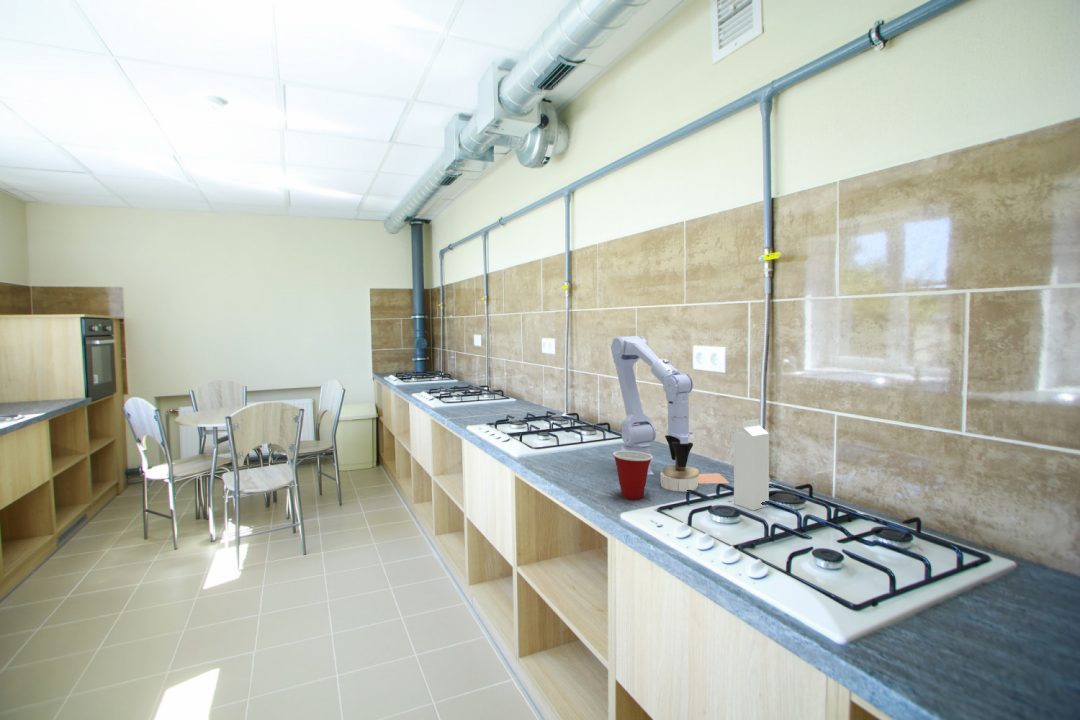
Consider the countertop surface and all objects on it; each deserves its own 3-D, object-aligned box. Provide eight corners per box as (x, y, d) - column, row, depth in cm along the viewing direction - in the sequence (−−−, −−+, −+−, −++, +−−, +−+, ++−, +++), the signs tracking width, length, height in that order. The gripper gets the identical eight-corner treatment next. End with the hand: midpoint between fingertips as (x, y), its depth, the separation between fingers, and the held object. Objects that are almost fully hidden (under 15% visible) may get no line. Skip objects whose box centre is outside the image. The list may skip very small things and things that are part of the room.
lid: (667, 479, 141) (667, 461, 141) (658, 469, 151) (658, 452, 151) (703, 478, 142) (703, 460, 141) (692, 468, 152) (692, 451, 151)
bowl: (665, 493, 142) (664, 479, 142) (658, 482, 152) (658, 469, 152) (701, 493, 142) (701, 478, 141) (692, 482, 152) (692, 469, 151)
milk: (733, 504, 132) (732, 420, 131) (749, 499, 135) (748, 417, 134) (753, 510, 127) (752, 423, 126) (769, 506, 130) (768, 420, 129)
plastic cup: (660, 500, 137) (660, 456, 136) (623, 504, 134) (623, 459, 133) (642, 488, 147) (641, 447, 146) (607, 492, 144) (606, 450, 144)
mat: (694, 485, 149) (694, 483, 149) (686, 475, 159) (686, 473, 158) (729, 485, 148) (729, 483, 148) (719, 475, 158) (719, 473, 158)
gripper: (699, 420, 138) (699, 469, 139) (686, 411, 153) (686, 456, 153) (672, 421, 139) (673, 470, 139) (662, 412, 153) (663, 457, 154)
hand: (678, 463), depth 146 cm, fingers open, 7 cm apart
